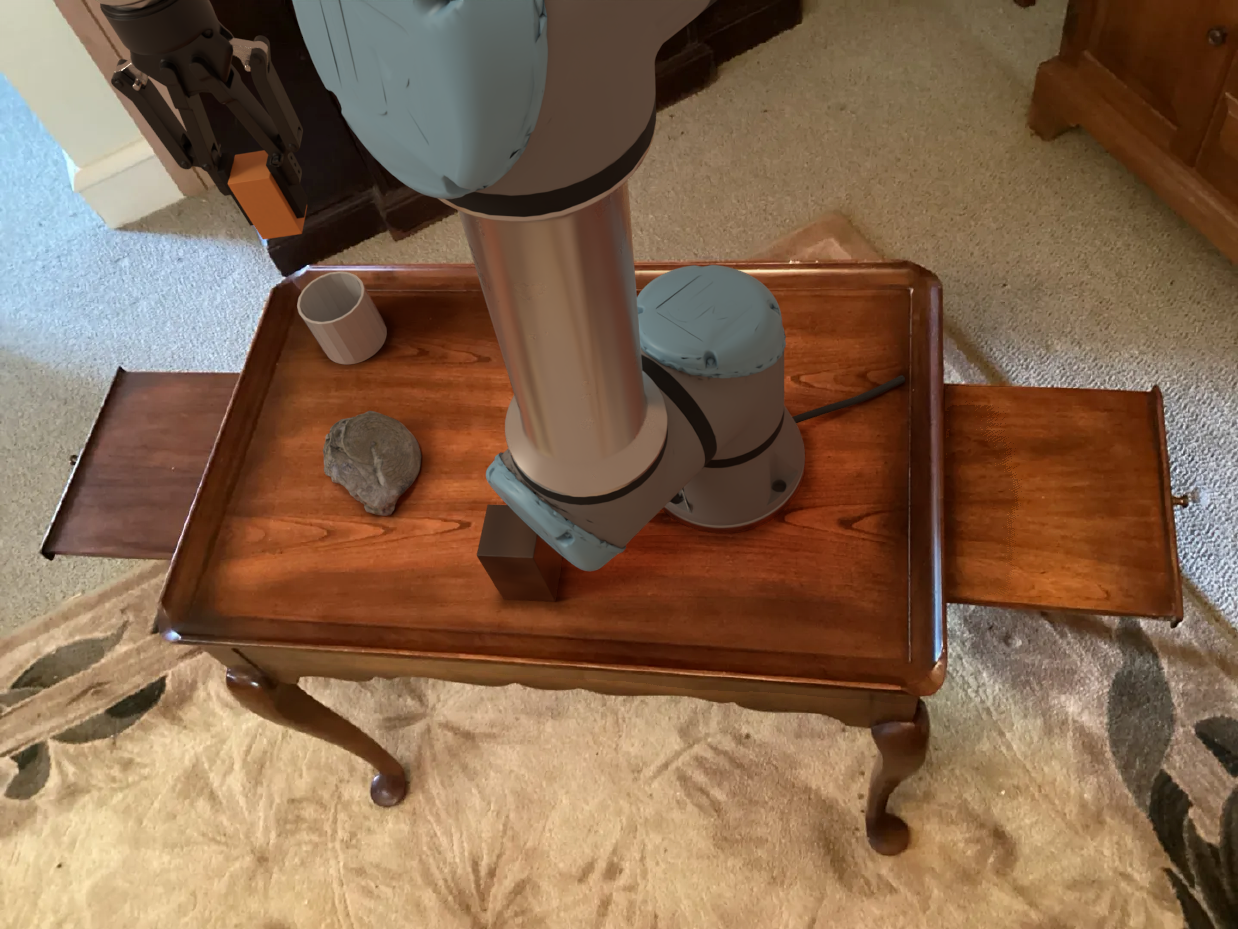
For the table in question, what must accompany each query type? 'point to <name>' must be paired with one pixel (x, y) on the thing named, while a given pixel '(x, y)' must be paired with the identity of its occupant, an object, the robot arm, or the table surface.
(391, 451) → the fossilized seashell
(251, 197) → the orange block
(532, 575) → the dark brown block
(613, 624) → the table surface
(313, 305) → the plain cylindrical cup
